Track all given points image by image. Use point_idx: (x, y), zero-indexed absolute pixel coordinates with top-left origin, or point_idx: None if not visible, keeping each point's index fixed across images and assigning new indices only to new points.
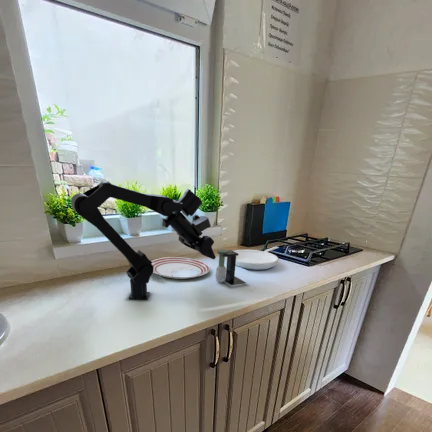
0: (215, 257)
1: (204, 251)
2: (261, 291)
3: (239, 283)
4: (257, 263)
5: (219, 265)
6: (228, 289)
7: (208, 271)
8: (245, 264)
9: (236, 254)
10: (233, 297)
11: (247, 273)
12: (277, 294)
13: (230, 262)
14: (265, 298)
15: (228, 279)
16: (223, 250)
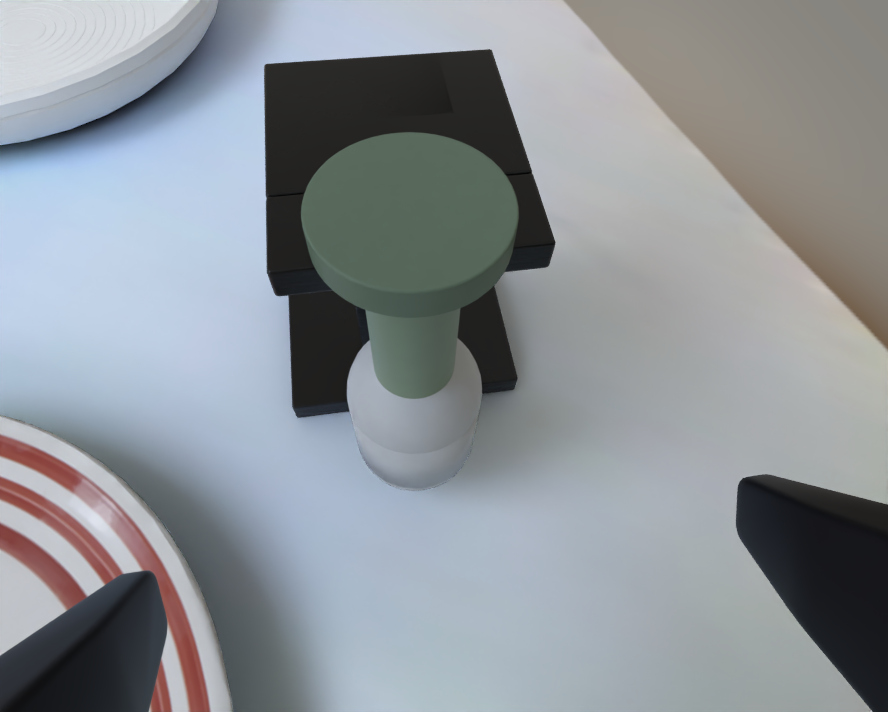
0: (770, 483)
1: None
2: (631, 209)
3: (485, 293)
4: (186, 10)
5: (432, 390)
6: (558, 431)
7: (120, 483)
8: (118, 83)
9: (496, 80)
10: (768, 465)
11: (213, 141)
12: (694, 146)
13: None
14: (775, 241)
15: None
16: (386, 177)
